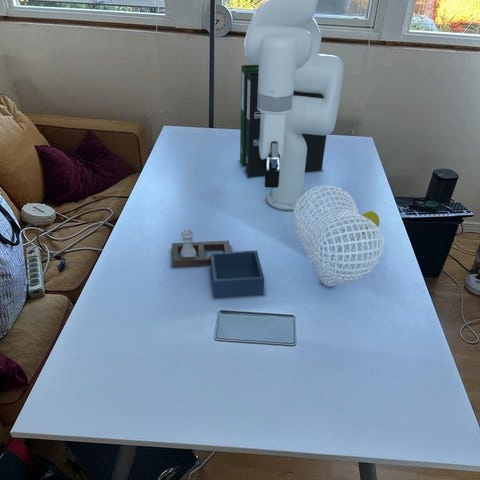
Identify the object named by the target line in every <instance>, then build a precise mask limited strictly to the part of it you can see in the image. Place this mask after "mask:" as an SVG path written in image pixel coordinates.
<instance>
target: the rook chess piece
mask: <svg viewBox="0 0 480 480" xmlns="http://www.w3.org/2000/svg"><path fill="white" fill-rule="evenodd" d="M180 237H181V238H182V239H181V241H182V243H183V248H182V250H181V252H179V254H180V255H179V258H181V257H198V255H197V254H198V253H197V251H196V250H195V249H194V248H193V244H192V242H193V240H194V239H193V237H194V233H193V231H192V230H191V229H189V228H186V229H183V230H182V231H181V234H180Z"/></svg>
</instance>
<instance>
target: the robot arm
mask: <svg viewBox="0 0 480 480" xmlns="http://www.w3.org/2000/svg"><path fill="white" fill-rule="evenodd" d="M351 1H352V0H267V1H265V2H263V3H262V4H261V5H260V6H258V7H257V9H255V11H254V13H253V15H252V17H251V20H250V22H249V25H248V27H247V31H246V34H245V37H244V47H243V48H244V55H245V58H246V59H247V62H249V63H250V64H251V65H259V76H258V98H257V109H258V110H259V111H261V121H260V137H259V152H260V158H261V159H262V160H263V163H262V169H263V170H265V176H264V183H263V184H264V188H272V190H271V191H270V192H269V193H268V194H267V196H266V201H267V203H268V205H269V206H271V207H273V208H275V209H279V210H283V211H294V207H295V205H296V203H297V201H298V200H299V198H300V197H301V196H302V195H303V194H304V193H303V189H304V181H305V173H306V172H305V164H306V156H307V145H306V142H305V140H304V138H303V136H302V134H312V135H324V136H325V135H326V136H329V135H330V134H332V133H333V131H334V130H335V126H336V122H337V118H338V112H339V105H340V100H341V93H342V86H343V80H344V62H343V60H342V59H341V58H340V57H339V56H336V55H332V54H331V55H330V54H320V50H321V44H322V32H321V29H320V26H319V25H318V23H317V21H316V20H315V18H314V16H315V14H316V13H318V14H330V15H331V14H332V15H341V14H343V13H345V12H346V11H347V10H348V9H349V6H350V3H351ZM293 91H299V92H308V93H319V94H322V95H323V97H324V98H313V97H305V96H293ZM304 199H305V198H304ZM305 201H306V200H305ZM301 202H302V200H301ZM300 204H301V203H300ZM304 206H305V204H304Z"/></svg>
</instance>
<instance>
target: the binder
mask: <svg viewBox="0 0 480 480" xmlns="http://www.w3.org/2000/svg"><path fill="white" fill-rule="evenodd" d="M240 73H241V75H240V76H241V77H240V78H241V79H240V82H241V83H240V131H239V132H240V134H239V135H240V137H239V138H240V139H239V140H240V142H239V145H240V146H239V147H240V148H239V152H240V153H239V162H240V164H241V166H242V167H244V172H245V175H246V176H247V178H257V177H265V170H263V169H262V163H263V160H262V159H261V158H260V152H259V137H260V121H261V111H259V110H258V109H257V98H258V76H259V65H254V64H241V69H240ZM293 96H305V97H313V98H324V97H323V95H322V94H319V93H308V92H299V91H293ZM302 136H303V138H304V140H305V142H306V145H307V156H306V164H305V173H314V172H322V171H323V164H324V157H325V149H326V142H327V135H325V136H324V135H312V134H302Z"/></svg>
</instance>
